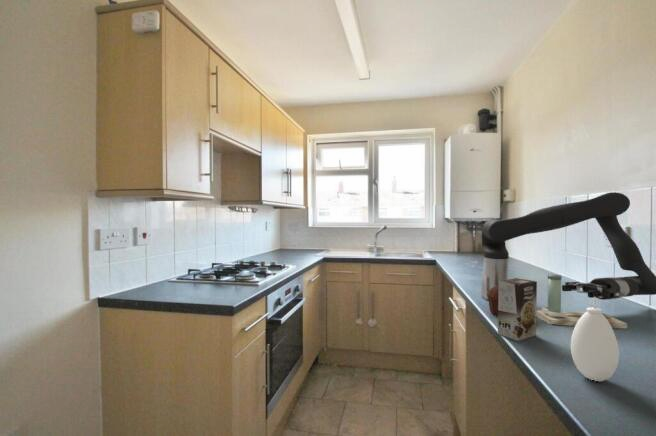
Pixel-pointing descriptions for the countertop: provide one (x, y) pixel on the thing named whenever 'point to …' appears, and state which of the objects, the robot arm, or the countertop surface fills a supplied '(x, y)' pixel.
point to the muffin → (493, 299)
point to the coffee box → (517, 308)
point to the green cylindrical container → (554, 297)
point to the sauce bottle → (594, 345)
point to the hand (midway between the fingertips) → (575, 291)
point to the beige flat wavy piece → (576, 319)
